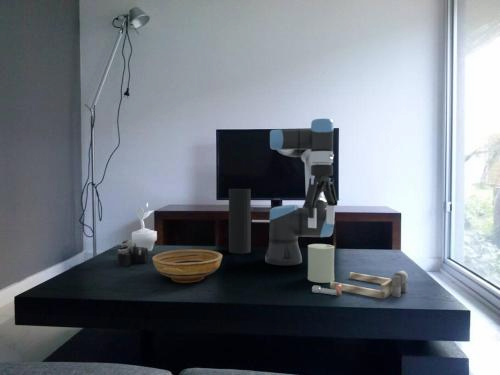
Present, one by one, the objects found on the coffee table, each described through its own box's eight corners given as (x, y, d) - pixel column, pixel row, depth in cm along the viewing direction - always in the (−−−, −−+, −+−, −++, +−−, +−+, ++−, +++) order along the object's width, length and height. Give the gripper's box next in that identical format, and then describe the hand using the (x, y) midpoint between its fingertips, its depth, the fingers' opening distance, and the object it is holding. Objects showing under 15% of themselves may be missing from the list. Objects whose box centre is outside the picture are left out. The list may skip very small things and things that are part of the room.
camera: (142, 269, 143) (141, 243, 143) (114, 270, 143) (114, 244, 143) (150, 260, 159) (150, 237, 159) (126, 260, 159) (126, 237, 158)
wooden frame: (330, 288, 118) (330, 267, 118) (350, 277, 131) (350, 259, 131) (397, 301, 105) (397, 278, 105) (413, 288, 118) (413, 268, 118)
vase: (224, 253, 174) (224, 189, 174) (240, 250, 181) (240, 188, 181) (238, 256, 167) (238, 189, 166) (255, 253, 174) (255, 189, 173)
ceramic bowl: (205, 293, 113) (205, 267, 113) (134, 288, 119) (133, 263, 119) (233, 270, 142) (233, 249, 141) (174, 266, 147) (174, 246, 147)
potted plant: (143, 256, 167) (142, 200, 167) (126, 253, 174) (125, 200, 173) (164, 251, 178) (163, 199, 177) (147, 249, 184) (146, 198, 184)
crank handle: (312, 292, 115) (312, 282, 115) (314, 290, 116) (314, 280, 116) (340, 296, 110) (340, 286, 110) (342, 294, 112) (342, 284, 112)
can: (334, 283, 124) (334, 247, 123) (306, 282, 126) (306, 246, 125) (334, 276, 133) (334, 243, 132) (308, 275, 135) (308, 242, 134)
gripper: (314, 162, 116) (314, 230, 117) (347, 165, 136) (346, 223, 136) (293, 163, 121) (293, 228, 121) (328, 165, 140) (327, 221, 141)
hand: (321, 225), depth 129 cm, fingers open, 13 cm apart
